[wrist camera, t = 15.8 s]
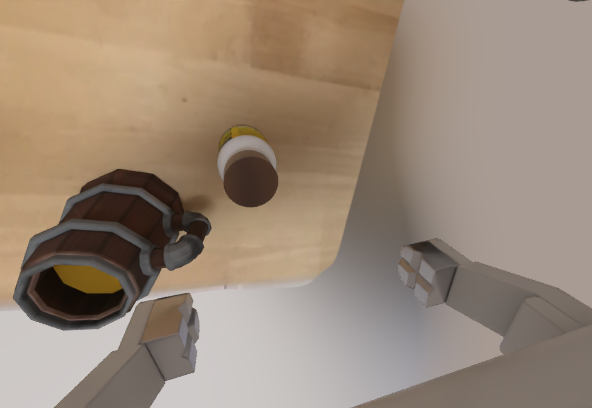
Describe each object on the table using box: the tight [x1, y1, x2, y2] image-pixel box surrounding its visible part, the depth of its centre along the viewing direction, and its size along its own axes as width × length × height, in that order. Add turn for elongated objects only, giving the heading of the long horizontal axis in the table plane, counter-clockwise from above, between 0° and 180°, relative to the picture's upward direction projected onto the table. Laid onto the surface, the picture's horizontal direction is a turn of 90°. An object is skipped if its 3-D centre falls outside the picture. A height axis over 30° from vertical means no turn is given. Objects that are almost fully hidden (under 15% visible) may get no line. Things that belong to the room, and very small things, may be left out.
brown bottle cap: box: [224, 150, 278, 207], centre depth 21 cm, size 5×5×2 cm
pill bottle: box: [217, 125, 277, 181], centre depth 27 cm, size 6×6×11 cm
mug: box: [13, 169, 211, 330], centre depth 26 cm, size 16×12×15 cm
